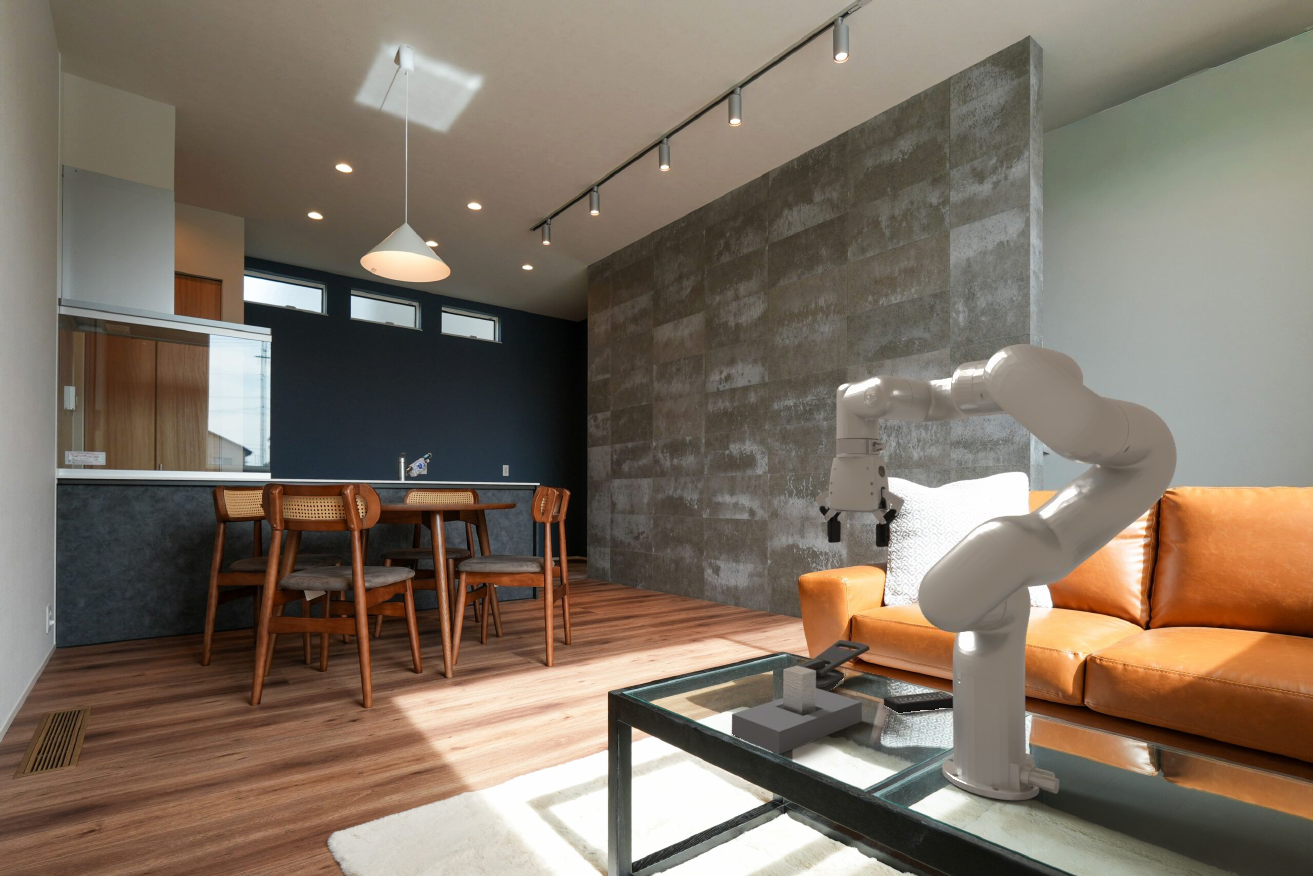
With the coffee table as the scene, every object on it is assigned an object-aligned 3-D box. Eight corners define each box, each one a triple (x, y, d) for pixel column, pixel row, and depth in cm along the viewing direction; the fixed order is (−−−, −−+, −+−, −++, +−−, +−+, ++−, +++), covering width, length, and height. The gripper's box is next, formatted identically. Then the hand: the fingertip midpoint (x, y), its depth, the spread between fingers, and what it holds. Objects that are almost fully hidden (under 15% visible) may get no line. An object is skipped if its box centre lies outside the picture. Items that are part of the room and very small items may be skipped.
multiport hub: (882, 709, 127) (882, 697, 127) (941, 702, 131) (941, 690, 132) (898, 716, 122) (898, 704, 123) (958, 709, 127) (958, 697, 127)
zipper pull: (873, 645, 149) (816, 664, 132) (873, 675, 149) (816, 698, 131) (838, 638, 156) (779, 655, 138) (838, 666, 155) (778, 687, 137)
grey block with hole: (861, 721, 118) (861, 701, 118) (779, 754, 102) (779, 731, 103) (815, 706, 126) (815, 687, 126) (731, 735, 110) (732, 714, 110)
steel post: (815, 729, 114) (815, 670, 115) (801, 734, 111) (802, 674, 112) (796, 722, 117) (797, 665, 118) (782, 727, 114) (783, 669, 115)
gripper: (912, 450, 115) (913, 547, 114) (828, 452, 128) (828, 540, 127) (891, 447, 110) (891, 549, 109) (805, 450, 123) (805, 541, 122)
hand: (857, 544), depth 118 cm, fingers open, 9 cm apart
